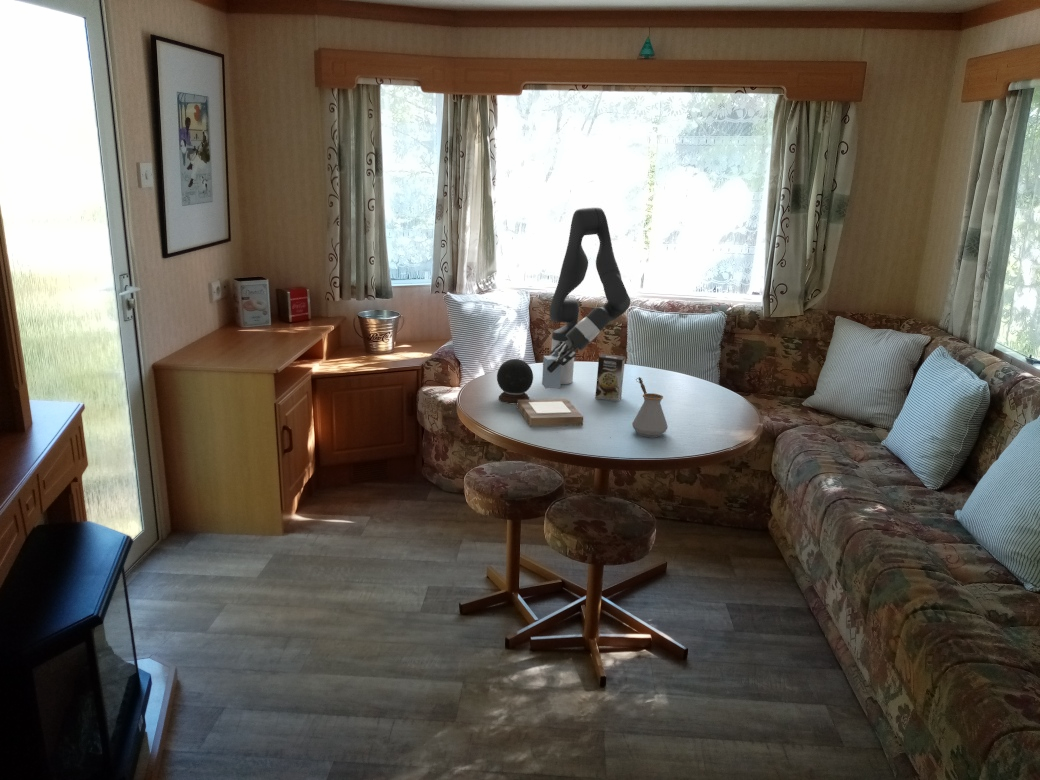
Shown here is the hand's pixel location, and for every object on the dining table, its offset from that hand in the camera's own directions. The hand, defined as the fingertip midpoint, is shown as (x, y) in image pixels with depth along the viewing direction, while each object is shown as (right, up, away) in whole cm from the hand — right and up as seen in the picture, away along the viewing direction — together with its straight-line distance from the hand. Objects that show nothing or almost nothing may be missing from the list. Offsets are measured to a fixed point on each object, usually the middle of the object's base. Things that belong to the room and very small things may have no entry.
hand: (546, 368), depth 261 cm
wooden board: (+1, -16, +5) cm, 17 cm away
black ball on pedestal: (-11, -11, +22) cm, 27 cm away
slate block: (+1, -6, +2) cm, 6 cm away
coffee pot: (+33, -20, -2) cm, 38 cm away
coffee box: (+24, -10, +29) cm, 39 cm away
